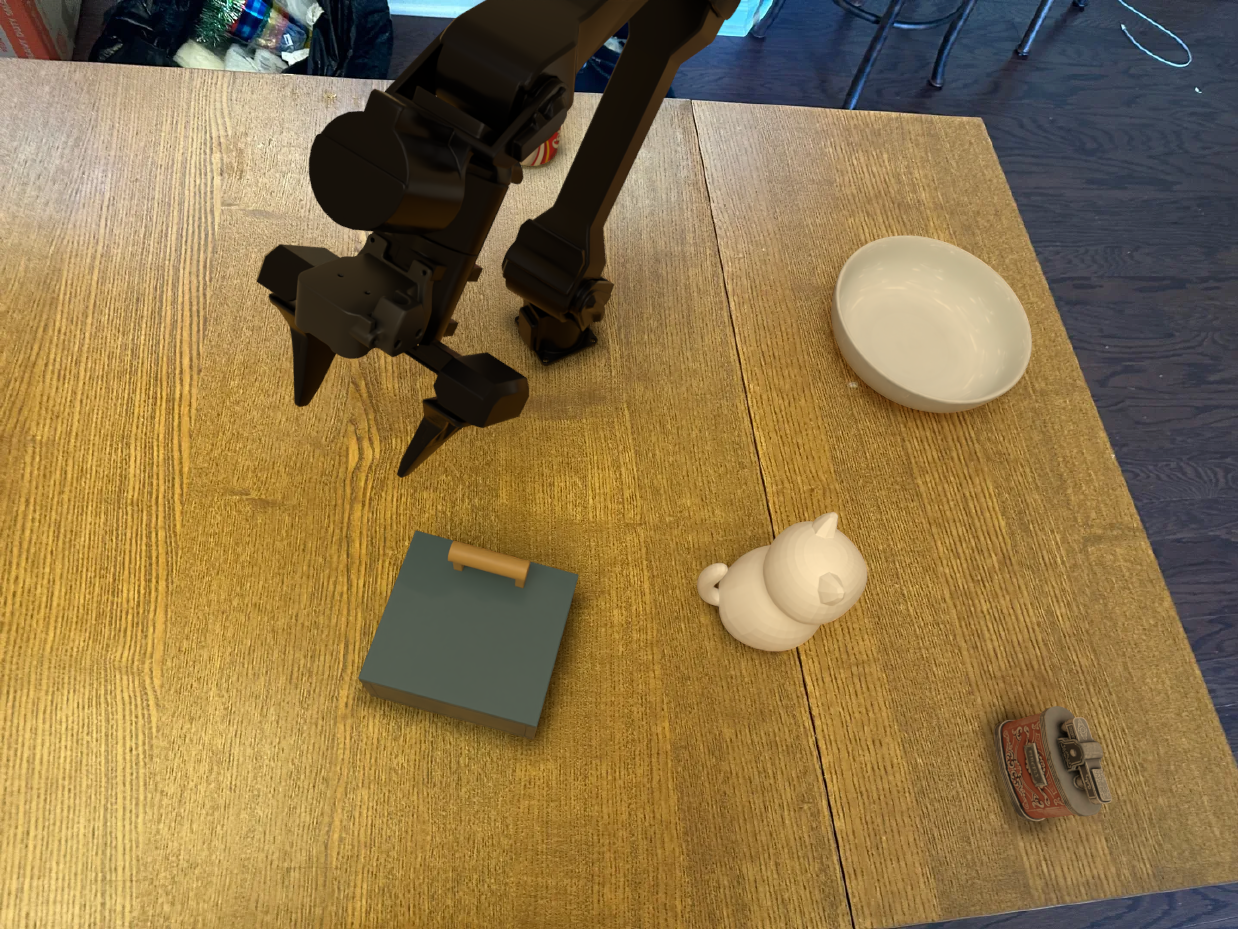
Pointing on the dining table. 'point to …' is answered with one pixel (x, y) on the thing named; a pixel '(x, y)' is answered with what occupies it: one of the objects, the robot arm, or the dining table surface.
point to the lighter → (1051, 765)
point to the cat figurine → (787, 585)
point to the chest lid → (471, 629)
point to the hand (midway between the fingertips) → (350, 440)
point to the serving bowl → (929, 324)
